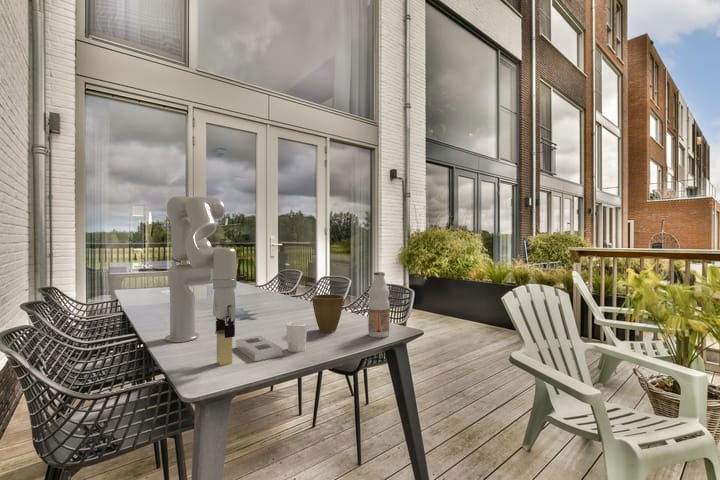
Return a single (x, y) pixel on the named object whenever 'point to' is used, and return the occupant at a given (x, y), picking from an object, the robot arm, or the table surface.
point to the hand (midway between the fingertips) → (225, 334)
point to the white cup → (296, 336)
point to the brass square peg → (223, 348)
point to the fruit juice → (378, 307)
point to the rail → (258, 348)
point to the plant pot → (327, 311)
